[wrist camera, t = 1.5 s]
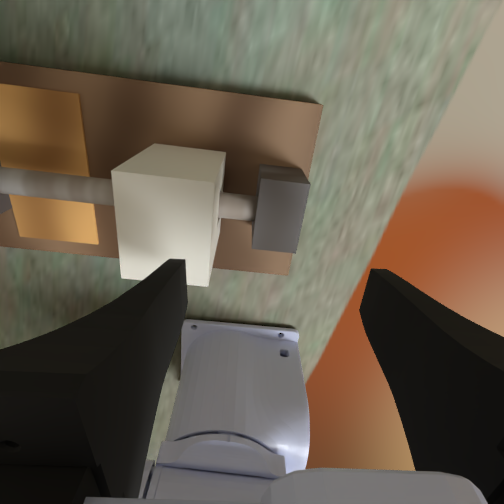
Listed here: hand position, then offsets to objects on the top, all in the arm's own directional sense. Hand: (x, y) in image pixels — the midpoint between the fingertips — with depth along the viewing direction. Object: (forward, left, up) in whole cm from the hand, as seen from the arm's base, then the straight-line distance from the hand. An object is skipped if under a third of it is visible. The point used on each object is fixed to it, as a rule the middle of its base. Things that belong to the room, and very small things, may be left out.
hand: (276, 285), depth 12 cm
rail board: (+9, -1, -10) cm, 13 cm away
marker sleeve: (+5, -1, -8) cm, 9 cm away
